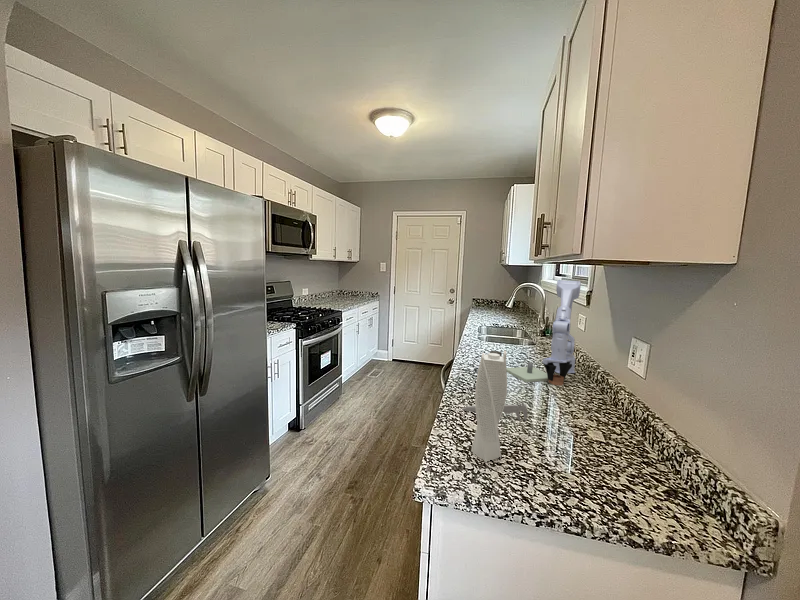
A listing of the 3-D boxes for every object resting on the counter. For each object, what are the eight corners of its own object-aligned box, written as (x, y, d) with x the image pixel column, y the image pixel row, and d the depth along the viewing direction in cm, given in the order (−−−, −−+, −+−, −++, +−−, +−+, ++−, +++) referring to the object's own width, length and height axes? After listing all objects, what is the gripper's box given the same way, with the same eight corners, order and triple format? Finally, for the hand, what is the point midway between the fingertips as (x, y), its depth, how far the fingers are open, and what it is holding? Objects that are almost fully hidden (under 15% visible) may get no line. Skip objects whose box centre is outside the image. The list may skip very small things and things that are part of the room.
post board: (532, 369, 163) (533, 357, 162) (556, 380, 148) (557, 367, 147) (504, 370, 158) (505, 358, 158) (525, 382, 143) (527, 369, 142)
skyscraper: (508, 459, 84) (518, 351, 81) (486, 467, 80) (496, 353, 77) (486, 444, 91) (494, 343, 88) (465, 450, 87) (472, 345, 84)
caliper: (526, 420, 107) (527, 402, 106) (526, 422, 106) (528, 403, 105) (462, 409, 113) (463, 391, 113) (461, 410, 112) (462, 392, 111)
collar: (556, 380, 147) (557, 373, 147) (566, 385, 142) (566, 378, 142) (545, 381, 146) (546, 374, 145) (555, 385, 140) (555, 378, 140)
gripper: (552, 351, 136) (548, 383, 138) (580, 350, 141) (577, 381, 142) (540, 347, 143) (537, 377, 145) (567, 346, 147) (564, 376, 149)
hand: (556, 379), depth 144 cm, fingers closed on collar, 6 cm apart
